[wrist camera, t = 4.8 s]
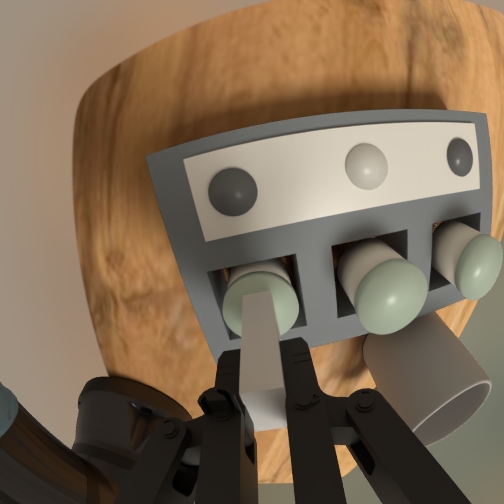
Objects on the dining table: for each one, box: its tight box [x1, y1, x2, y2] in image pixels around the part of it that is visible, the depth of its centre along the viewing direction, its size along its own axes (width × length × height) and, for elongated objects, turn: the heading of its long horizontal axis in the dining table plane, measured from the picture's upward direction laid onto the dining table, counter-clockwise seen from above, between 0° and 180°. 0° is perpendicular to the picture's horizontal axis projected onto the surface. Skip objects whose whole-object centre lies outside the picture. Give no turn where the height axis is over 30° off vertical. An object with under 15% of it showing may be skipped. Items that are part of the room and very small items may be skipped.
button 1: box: [431, 219, 503, 300], centre depth 14 cm, size 4×4×4 cm
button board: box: [145, 109, 493, 364], centre depth 17 cm, size 22×14×4 cm, turn 103°
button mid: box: [337, 238, 428, 335], centre depth 14 cm, size 4×4×4 cm
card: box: [183, 122, 480, 242], centre depth 13 cm, size 18×4×1 cm, turn 103°
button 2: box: [222, 257, 299, 336], centre depth 17 cm, size 4×4×4 cm
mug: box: [363, 311, 492, 447], centre depth 19 cm, size 12×8×11 cm
